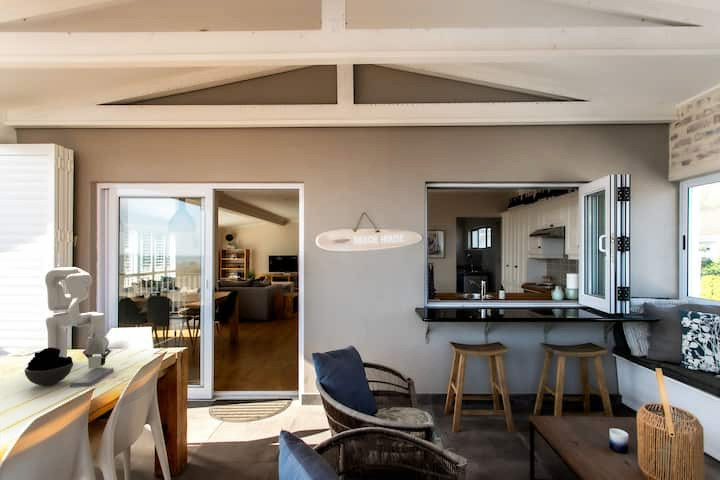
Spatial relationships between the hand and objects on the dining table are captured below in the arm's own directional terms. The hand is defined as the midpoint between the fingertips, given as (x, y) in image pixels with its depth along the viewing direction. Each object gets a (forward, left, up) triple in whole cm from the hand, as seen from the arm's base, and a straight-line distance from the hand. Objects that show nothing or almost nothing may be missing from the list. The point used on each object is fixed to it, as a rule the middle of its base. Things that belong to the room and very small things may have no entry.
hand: (96, 364), depth 230 cm
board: (+8, -19, -2) cm, 21 cm away
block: (0, 0, -1) cm, 1 cm away
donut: (-19, +44, -3) cm, 48 cm away
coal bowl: (-10, -25, -3) cm, 28 cm away
